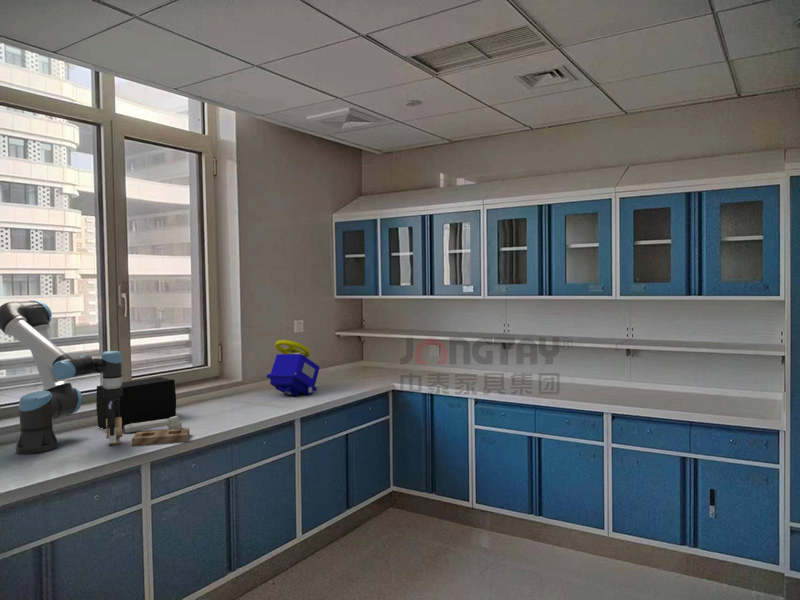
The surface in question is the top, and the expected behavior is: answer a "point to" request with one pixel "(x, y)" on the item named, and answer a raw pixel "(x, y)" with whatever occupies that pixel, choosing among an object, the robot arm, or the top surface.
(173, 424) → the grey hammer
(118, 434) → the oak peg
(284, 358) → the control box
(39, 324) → the robot arm
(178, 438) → the walnut board
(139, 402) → the uninterruptible power supply
